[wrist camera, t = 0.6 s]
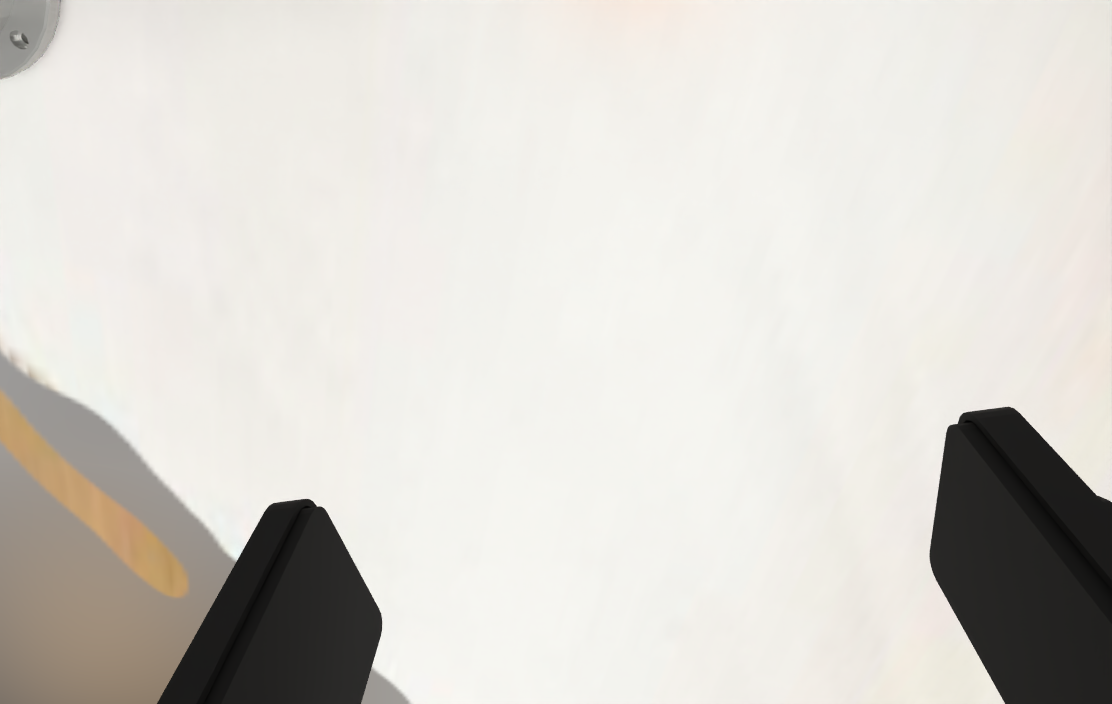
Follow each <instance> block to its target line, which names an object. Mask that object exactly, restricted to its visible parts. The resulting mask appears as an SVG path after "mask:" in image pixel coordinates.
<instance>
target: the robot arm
mask: <svg viewBox="0 0 1112 704" xmlns="http://www.w3.org/2000/svg"><path fill="white" fill-rule="evenodd" d="M59 13H60V0H0V80H1V79H4V78H8V77H12V76H14V75H16V74H18V73H20V72H22V71H24V70H26V69H28V68H30V67H31V66H32V65H33V64H34V63H35V62H36V61H37V60H38V59H39V58H40V57H41V56H42V55H43V54H44V53H45V51H46V49H47V48H48V46H49V44H50V42H51V41H52V39H53V37H54V34H55V30H56V27H57V23H58V19H59ZM930 563H931V567H932V571H933V574H934V576H935V578H936V580H937V582H938V584H939V586H940V588H941V589H942V591H943V593H944V595H945V597H946V598H947V600H948V602H949V604H950V606H951V607H952V609H953V611H954V613H955V614H956V616H957V618H958V620H959V622H960V623H961V625H962V627H963V629H964V631H965V632H966V634H967V636H968V638H969V640H970V641H971V643H972V645H973V647H974V649H975V650H976V652H977V654H978V656H979V658H980V659H981V661H982V663H983V665H984V666H985V668H986V670H987V672H988V674H989V675H990V677H991V679H992V681H993V683H994V684H995V686H996V688H997V690H998V692H999V693H1000V695H1001V697H1002V699H1003V701H1004V702H1005V704H1112V502H1110V501H1109V500H1107V499H1104V498H1102V497H1100V496H1097V495H1096V494H1095V493H1094V492H1093V491H1092V490H1091V489H1090V488H1089V487H1088V486H1087V485H1086V484H1085V483H1084V482H1083V480H1082V479H1081V478H1080V477H1079V476H1078V475H1077V474H1076V473H1075V472H1074V471H1073V470H1072V469H1071V468H1070V467H1069V465H1068V464H1067V463H1066V462H1065V461H1064V460H1063V459H1062V458H1061V457H1060V456H1059V455H1058V454H1057V453H1056V452H1055V450H1054V449H1053V448H1052V447H1051V446H1050V445H1049V444H1048V443H1047V442H1046V441H1045V440H1044V439H1043V438H1042V437H1041V436H1040V434H1039V433H1038V432H1037V431H1036V430H1035V429H1034V428H1033V427H1032V426H1031V425H1030V424H1029V423H1028V422H1027V421H1026V419H1025V418H1024V417H1023V416H1022V415H1021V414H1020V413H1019V412H1018V411H1016V410H1015V409H1014V408H1011V407H1003V408H995V409H987V410H980V411H972V412H966V413H963V414H962V415H961V416H960V418H959V422H958V424H954V425H950V426H949V427H948V429H947V432H946V439H945V446H944V453H943V461H942V468H941V475H940V482H939V489H938V496H937V503H936V511H935V518H934V525H933V532H932V539H931V546H930ZM381 632H382V617H381V613H380V610H379V608H378V606H377V604H376V602H375V601H374V599H373V597H372V595H371V593H370V591H369V589H368V588H367V586H366V584H365V582H364V580H363V578H362V576H361V575H360V573H359V571H358V569H357V567H356V565H355V563H354V562H353V560H352V558H351V556H350V554H349V552H348V550H347V549H346V547H345V545H344V543H343V541H342V539H341V537H340V536H339V534H338V532H337V530H336V528H335V526H334V524H333V523H332V521H331V519H330V517H329V515H328V513H327V512H326V510H325V509H324V508H323V507H317V506H316V505H315V503H314V502H313V501H311V500H310V499H301V500H294V501H286V502H279V503H273V504H271V505H270V506H269V507H268V508H267V509H266V511H265V512H264V514H263V516H262V517H261V519H260V521H259V523H258V525H257V526H256V528H255V530H254V532H253V533H252V535H251V537H250V539H249V541H248V542H247V544H246V546H245V548H244V550H243V551H242V553H241V555H240V557H239V558H238V560H237V562H236V564H235V566H234V568H233V569H232V571H231V573H230V574H229V576H228V578H227V580H226V582H225V584H224V585H223V587H222V589H221V591H220V592H219V594H218V596H217V598H216V599H215V601H214V603H213V605H212V607H211V608H210V610H209V612H208V614H207V615H206V617H205V619H204V621H203V623H202V625H201V626H200V628H199V630H198V632H197V634H196V635H195V637H194V639H193V640H192V643H191V644H190V646H189V648H188V649H187V651H186V653H185V655H184V657H183V658H182V660H181V662H180V664H179V665H178V667H177V669H176V671H175V673H174V674H173V676H172V678H171V680H170V681H169V683H168V685H167V687H166V689H165V690H164V692H163V694H162V696H161V698H160V700H159V701H158V703H157V704H361V701H362V698H363V695H364V691H365V688H366V684H367V681H368V678H369V674H370V671H371V667H372V664H373V661H374V657H375V654H376V650H377V647H378V643H379V640H380V637H381Z"/></svg>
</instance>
